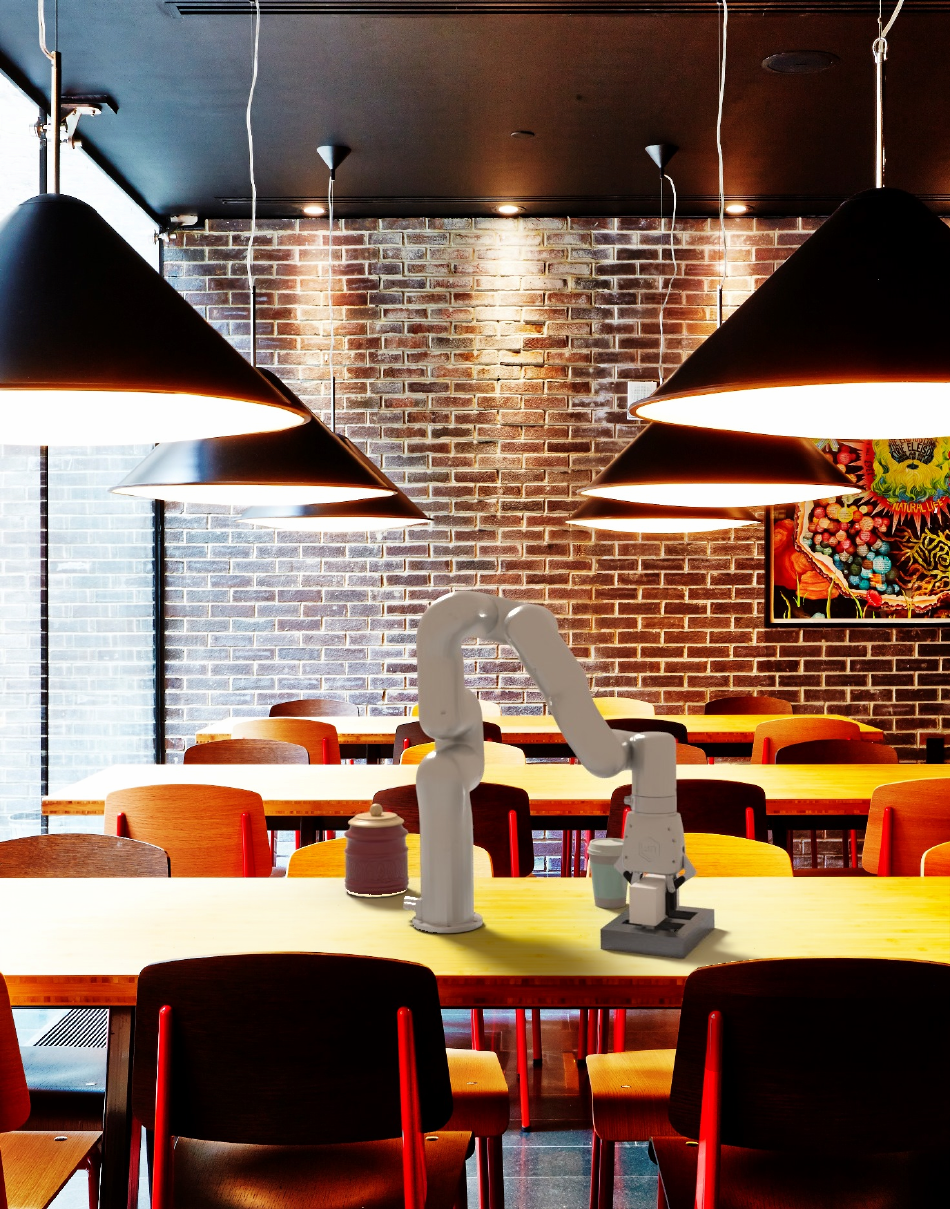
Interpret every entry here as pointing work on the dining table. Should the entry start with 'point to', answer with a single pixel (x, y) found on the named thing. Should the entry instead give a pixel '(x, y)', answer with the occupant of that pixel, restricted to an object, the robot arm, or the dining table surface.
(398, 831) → the canister
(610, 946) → the grey frame with openings
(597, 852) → the coffee cup
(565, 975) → the dining table surface
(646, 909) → the white block orange button
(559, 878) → the dining table surface
